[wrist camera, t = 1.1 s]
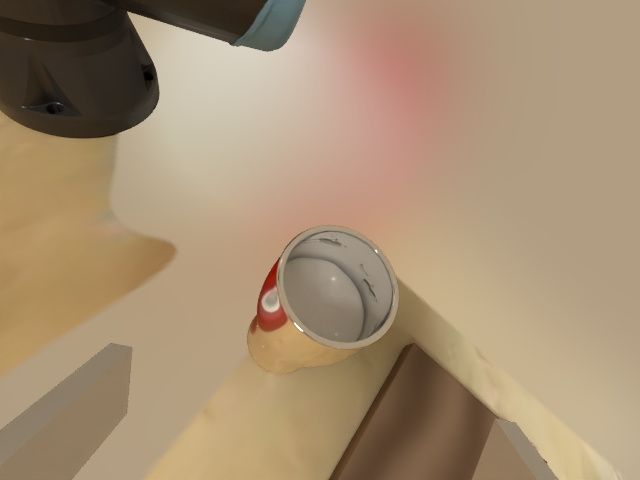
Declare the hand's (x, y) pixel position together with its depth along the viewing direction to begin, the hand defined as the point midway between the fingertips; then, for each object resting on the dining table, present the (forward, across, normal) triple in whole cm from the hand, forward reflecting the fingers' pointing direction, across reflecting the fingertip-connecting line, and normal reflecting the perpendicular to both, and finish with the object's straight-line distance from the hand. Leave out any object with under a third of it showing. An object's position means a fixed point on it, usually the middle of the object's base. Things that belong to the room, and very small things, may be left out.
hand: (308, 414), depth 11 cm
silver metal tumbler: (+16, -2, -7) cm, 18 cm away
